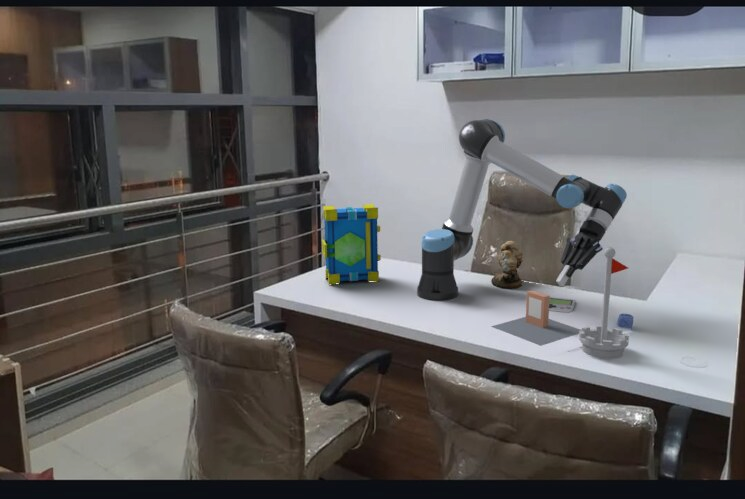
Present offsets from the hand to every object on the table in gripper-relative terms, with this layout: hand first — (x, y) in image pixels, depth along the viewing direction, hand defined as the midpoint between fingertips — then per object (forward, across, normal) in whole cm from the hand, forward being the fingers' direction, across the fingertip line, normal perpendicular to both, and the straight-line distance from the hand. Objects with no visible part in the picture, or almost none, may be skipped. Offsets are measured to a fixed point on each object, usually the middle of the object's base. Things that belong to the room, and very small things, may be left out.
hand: (559, 283), depth 199 cm
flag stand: (+16, -24, -2) cm, 29 cm away
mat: (+17, -2, 0) cm, 18 cm away
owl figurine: (-5, +42, -23) cm, 48 cm away
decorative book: (+27, +81, +11) cm, 86 cm away
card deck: (+15, +1, -2) cm, 15 cm away
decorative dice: (+1, -16, -17) cm, 24 cm away
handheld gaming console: (+1, +10, -18) cm, 20 cm away
